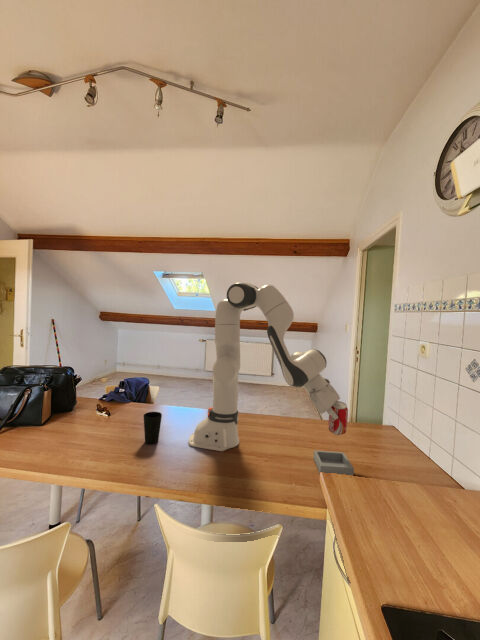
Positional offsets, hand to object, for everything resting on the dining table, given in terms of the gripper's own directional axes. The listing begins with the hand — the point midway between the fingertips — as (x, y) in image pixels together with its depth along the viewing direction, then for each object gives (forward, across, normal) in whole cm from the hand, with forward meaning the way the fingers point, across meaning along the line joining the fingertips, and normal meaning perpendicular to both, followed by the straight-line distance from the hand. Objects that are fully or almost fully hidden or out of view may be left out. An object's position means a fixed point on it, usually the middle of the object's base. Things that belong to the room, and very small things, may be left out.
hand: (339, 416), depth 116 cm
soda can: (+4, +3, +6) cm, 8 cm away
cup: (-36, -32, +64) cm, 80 cm away
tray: (+13, -4, +14) cm, 20 cm away
